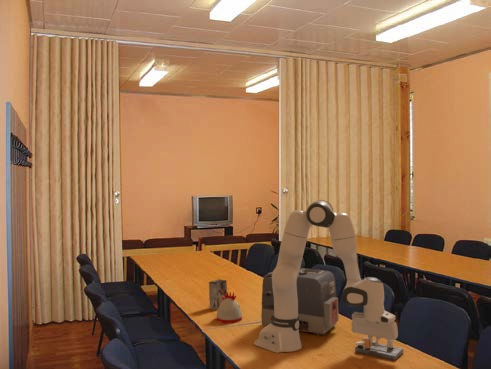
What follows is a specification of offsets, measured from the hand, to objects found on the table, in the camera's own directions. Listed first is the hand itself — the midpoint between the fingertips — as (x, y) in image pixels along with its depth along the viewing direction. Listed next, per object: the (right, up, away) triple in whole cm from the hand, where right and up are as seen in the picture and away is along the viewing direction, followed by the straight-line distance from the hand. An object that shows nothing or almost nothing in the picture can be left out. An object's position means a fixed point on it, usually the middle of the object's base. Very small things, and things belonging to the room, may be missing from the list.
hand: (374, 345), depth 220 cm
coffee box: (-73, -2, +77) cm, 106 cm away
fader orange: (-2, -1, +2) cm, 3 cm away
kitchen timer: (-66, -3, +54) cm, 85 cm away
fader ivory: (+8, -1, +2) cm, 8 cm away
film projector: (-28, -3, +38) cm, 47 cm away
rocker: (-5, -1, +4) cm, 6 cm away
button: (-2, -1, +9) cm, 9 cm away
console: (+3, -4, +2) cm, 5 cm away
